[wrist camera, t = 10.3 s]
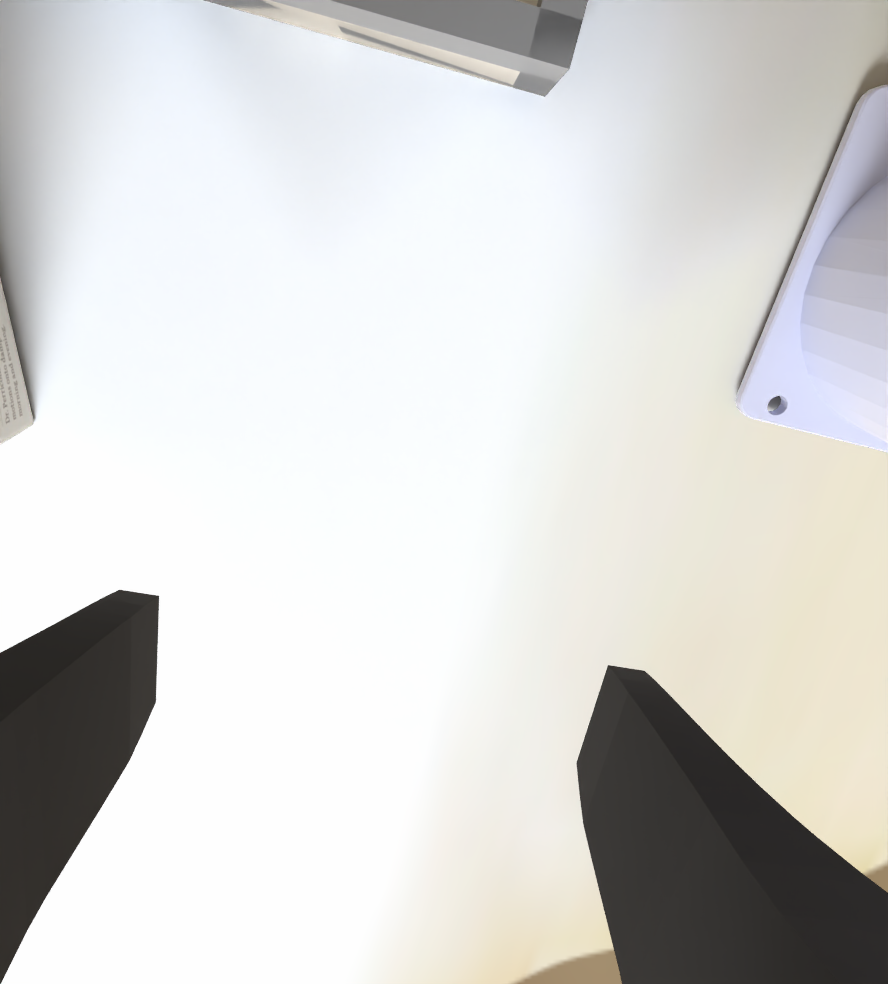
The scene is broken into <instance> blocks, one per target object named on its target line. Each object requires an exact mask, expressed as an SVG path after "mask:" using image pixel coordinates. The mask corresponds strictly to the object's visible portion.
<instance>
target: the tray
mask: <svg viewBox="0 0 888 984" xmlns="http://www.w3.org/2000/svg"><path fill="white" fill-rule="evenodd" d="M205 1H209V2H212V3H216V4H219V5H223V6H226V7H230V8H233V9H237V10H240V11H244V12H248V13H251V14H255V15H258V16H262V17H265V18H269V19H272V20H276V21H279V22H283V23H286V24H290V25H294V26H297V27H301V28H304V29H308V30H311V31H315V32H318V33H322V34H325V35H329V36H332V37H336V38H339V39H343V40H347V41H350V42H354V43H357V44H361V45H364V46H368V47H371V48H375V49H378V50H382V51H385V52H389V53H392V54H396V55H400V56H403V57H407V58H410V59H414V60H417V61H421V62H424V63H428V64H431V65H435V66H438V67H442V68H446V69H449V70H453V71H456V72H460V73H463V74H467V75H470V76H474V77H477V78H481V79H484V80H488V81H491V82H495V83H499V84H502V85H506V86H509V87H513V88H516V89H520V90H523V91H527V92H530V93H534V94H537V95H541V96H544V97H545V96H546V95H547V94H548V93H549V91H550V90H551V89H552V88H553V87H554V86H555V85H556V83H557V82H558V81H559V80H560V79H561V78H562V77H563V76H564V74H565V73H566V72H567V71H568V70H569V68H570V65H571V61H572V57H573V54H574V50H575V46H576V43H577V39H578V35H579V31H580V28H581V24H582V20H583V17H584V13H585V9H586V6H587V2H588V0H205Z"/></svg>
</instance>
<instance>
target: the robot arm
mask: <svg viewBox="0 0 888 984" xmlns="http://www.w3.org/2000/svg"><path fill="white" fill-rule="evenodd" d="M776 396H780V398H781V403H780V405H779V407H778V408H777V409H775V410H773V411H768V409H767V407H768V403H769V401H770V400H771V399H772V398H774V397H776ZM736 405H737V408H738V409H739V411H740V412H741V413H742V414H744V415H745V416H747V417H749V418H751V419H755V420H759V421H763V422H768V423H772V424H776V425H780V426H784V427H788V428H792V429H796V430H800V431H804V432H808V433H812V434H816V435H820V436H824V437H828V438H832V439H836V440H840V441H844V442H848V443H852V444H856V445H860V446H864V447H868V448H872V449H876V450H881V451H885V452H888V85H882V86H878V87H875V88H873V89H870V90H868V91H867V92H866V93H865V94H863V95H862V96H861V97H860V99H859V101H858V102H857V104H856V106H855V108H854V111H853V113H852V116H851V118H850V120H849V123H848V125H847V128H846V130H845V133H844V135H843V137H842V140H841V142H840V145H839V147H838V150H837V152H836V154H835V157H834V159H833V162H832V164H831V167H830V169H829V171H828V174H827V176H826V179H825V181H824V184H823V186H822V188H821V191H820V193H819V196H818V198H817V201H816V203H815V205H814V208H813V210H812V213H811V215H810V218H809V220H808V222H807V225H806V227H805V230H804V232H803V235H802V237H801V239H800V242H799V244H798V247H797V249H796V252H795V254H794V256H793V259H792V261H791V264H790V266H789V269H788V271H787V273H786V276H785V278H784V281H783V283H782V286H781V288H780V290H779V293H778V295H777V298H776V300H775V303H774V305H773V307H772V310H771V312H770V315H769V317H768V320H767V322H766V324H765V327H764V329H763V332H762V334H761V337H760V339H759V341H758V344H757V346H756V349H755V351H754V354H753V356H752V358H751V361H750V363H749V366H748V368H747V371H746V373H745V375H744V378H743V380H742V383H741V385H740V388H739V390H738V392H737V396H736ZM158 611H159V596H156V595H149V594H143V593H136V592H130V591H123V590H118V591H116V592H114V593H112V594H110V595H108V596H106V597H104V598H102V599H100V600H98V601H96V602H94V603H92V604H91V605H89V606H87V607H85V608H83V609H81V610H80V611H78V612H76V613H74V614H72V615H70V616H69V617H67V618H65V619H63V620H61V621H59V622H58V623H56V624H54V625H52V626H50V627H48V628H46V629H45V630H43V631H41V632H39V633H37V634H35V635H33V636H31V637H29V638H28V639H26V640H24V641H22V642H20V643H18V644H16V645H14V646H13V647H11V648H9V649H7V650H5V651H3V652H1V653H0V984H1V982H2V980H3V978H4V976H5V974H6V972H7V970H8V968H9V966H10V964H11V962H12V960H13V958H14V956H15V954H16V952H17V950H18V948H19V946H20V944H21V942H22V940H23V938H24V936H25V934H26V932H27V930H28V928H29V926H30V924H31V923H32V921H33V919H34V917H35V916H36V914H37V912H38V910H39V909H40V907H41V905H42V903H43V901H44V900H45V898H46V896H47V895H48V893H49V891H50V890H51V888H52V886H53V885H54V883H55V882H56V880H57V878H58V877H59V875H60V873H61V872H62V870H63V869H64V867H65V865H66V864H67V862H68V860H69V859H70V857H71V856H72V854H73V852H74V851H75V849H76V847H77V846H78V844H79V843H80V841H81V839H82V838H83V836H84V834H85V833H86V831H87V830H88V828H89V826H90V825H91V823H92V821H93V820H94V818H95V817H96V815H97V813H98V812H99V810H100V808H101V807H102V805H103V804H104V802H105V800H106V799H107V797H108V795H109V794H110V792H111V790H112V789H113V787H114V785H115V784H116V782H117V780H118V779H119V777H120V775H121V774H122V772H123V770H124V769H125V767H126V765H127V764H128V762H129V760H130V758H131V756H132V754H133V752H134V750H135V747H136V745H137V743H138V741H139V739H140V737H141V735H142V732H143V730H144V728H145V725H146V723H147V721H148V719H149V716H150V714H151V712H152V709H153V707H154V705H155V702H156V676H157V643H158ZM577 772H578V782H579V792H580V800H581V808H582V816H583V824H584V828H585V833H586V837H587V841H588V845H589V850H590V854H591V858H592V862H593V866H594V870H595V874H596V878H597V882H598V887H599V891H600V895H601V899H602V903H603V907H604V911H605V915H606V919H607V923H608V927H609V931H610V935H611V939H612V943H613V947H614V951H615V955H616V959H617V963H618V967H619V971H620V976H621V981H622V984H888V893H887V892H886V891H885V890H883V889H882V888H881V887H879V886H878V885H877V884H875V883H874V882H873V881H871V880H870V879H869V878H867V877H866V876H865V875H863V874H862V873H861V872H860V871H858V870H857V869H856V868H855V867H853V866H852V865H851V864H850V863H848V862H847V861H846V860H845V859H843V858H842V857H841V856H840V855H838V854H837V853H836V852H835V851H833V850H832V849H831V848H830V847H829V846H827V845H826V844H825V843H824V842H822V841H821V840H820V839H819V838H817V837H816V836H815V835H814V834H813V833H811V832H810V831H809V830H808V829H807V828H806V827H804V826H803V825H802V824H801V823H800V822H799V821H797V820H796V819H795V818H794V817H793V816H792V815H791V814H790V813H788V812H787V811H786V810H785V809H784V808H783V807H782V806H781V805H780V804H779V803H778V802H776V801H775V800H774V799H773V798H772V797H771V796H770V795H769V794H768V793H767V792H766V791H764V790H763V789H762V788H761V787H760V786H759V785H758V784H757V783H756V782H755V781H754V780H753V779H752V778H751V777H750V776H749V775H748V774H746V773H745V772H744V771H743V770H742V769H741V768H740V767H739V766H738V765H737V764H736V763H735V762H734V761H733V760H732V759H731V758H730V757H729V756H728V755H727V754H726V753H725V752H724V751H723V750H722V749H721V748H720V747H719V746H718V745H717V744H716V743H715V742H714V741H713V740H712V739H711V738H710V737H709V736H708V735H707V734H706V732H705V731H704V730H703V729H702V728H701V727H700V726H699V725H698V724H697V723H696V722H695V721H694V720H693V719H692V718H691V717H690V716H689V715H688V714H687V713H686V712H685V711H684V710H683V709H682V708H681V707H680V705H679V704H678V703H677V702H676V701H675V700H674V699H673V698H672V697H671V696H670V695H669V694H668V693H667V692H666V691H665V690H664V689H663V688H662V687H661V686H660V685H659V684H658V683H657V682H656V681H655V680H654V679H653V678H652V677H651V676H650V675H648V674H647V673H646V672H645V671H642V670H635V669H629V668H622V667H616V666H609V665H608V667H607V670H606V673H605V676H604V680H603V683H602V686H601V689H600V692H599V695H598V698H597V701H596V704H595V707H594V711H593V714H592V717H591V720H590V723H589V726H588V729H587V732H586V735H585V739H584V742H583V745H582V748H581V751H580V754H579V757H578V760H577Z"/></svg>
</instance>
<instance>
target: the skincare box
mask: <svg viewBox="0 0 888 984" xmlns="http://www.w3.org/2000/svg"><path fill="white" fill-rule="evenodd" d="M33 422H34V419H33V415H32V411H31V407H30V403H29V399H28V395H27V390H26V386H25V382H24V377H23V373H22V369H21V364H20V360H19V356H18V351H17V347H16V343H15V338H14V334H13V330H12V325H11V321H10V317H9V312H8V308H7V304H6V300H5V295H4V291H3V287H2V282H1V278H0V444H2V443H4V442H5V441H7V440H9V439H10V438H12V437H14V436H15V435H17V434H19V433H20V432H22V431H24V430H25V429H27V428H28V427H30V426H32V425H33Z"/></svg>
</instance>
